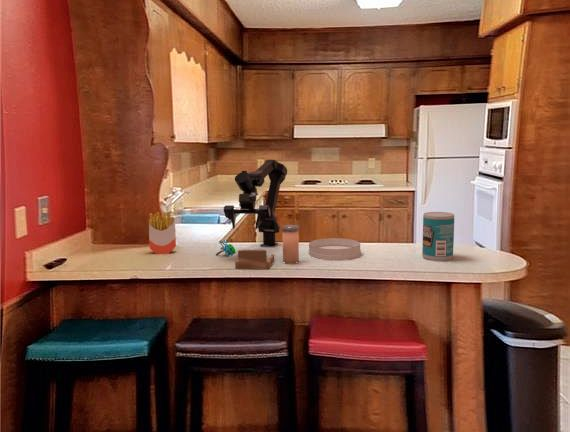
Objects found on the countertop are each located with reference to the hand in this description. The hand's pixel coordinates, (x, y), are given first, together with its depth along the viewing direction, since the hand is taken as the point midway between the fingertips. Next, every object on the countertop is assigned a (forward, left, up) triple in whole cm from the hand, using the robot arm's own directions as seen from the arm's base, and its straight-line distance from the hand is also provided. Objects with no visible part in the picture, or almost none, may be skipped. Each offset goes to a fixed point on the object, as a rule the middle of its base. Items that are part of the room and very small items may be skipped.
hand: (244, 228), depth 210 cm
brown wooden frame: (+4, +6, -13) cm, 15 cm away
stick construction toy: (-9, -13, -14) cm, 21 cm away
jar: (-3, +18, -14) cm, 23 cm away
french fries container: (-6, -42, -14) cm, 44 cm away
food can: (-23, +74, -14) cm, 79 cm away
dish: (-20, +32, -14) cm, 41 cm away
